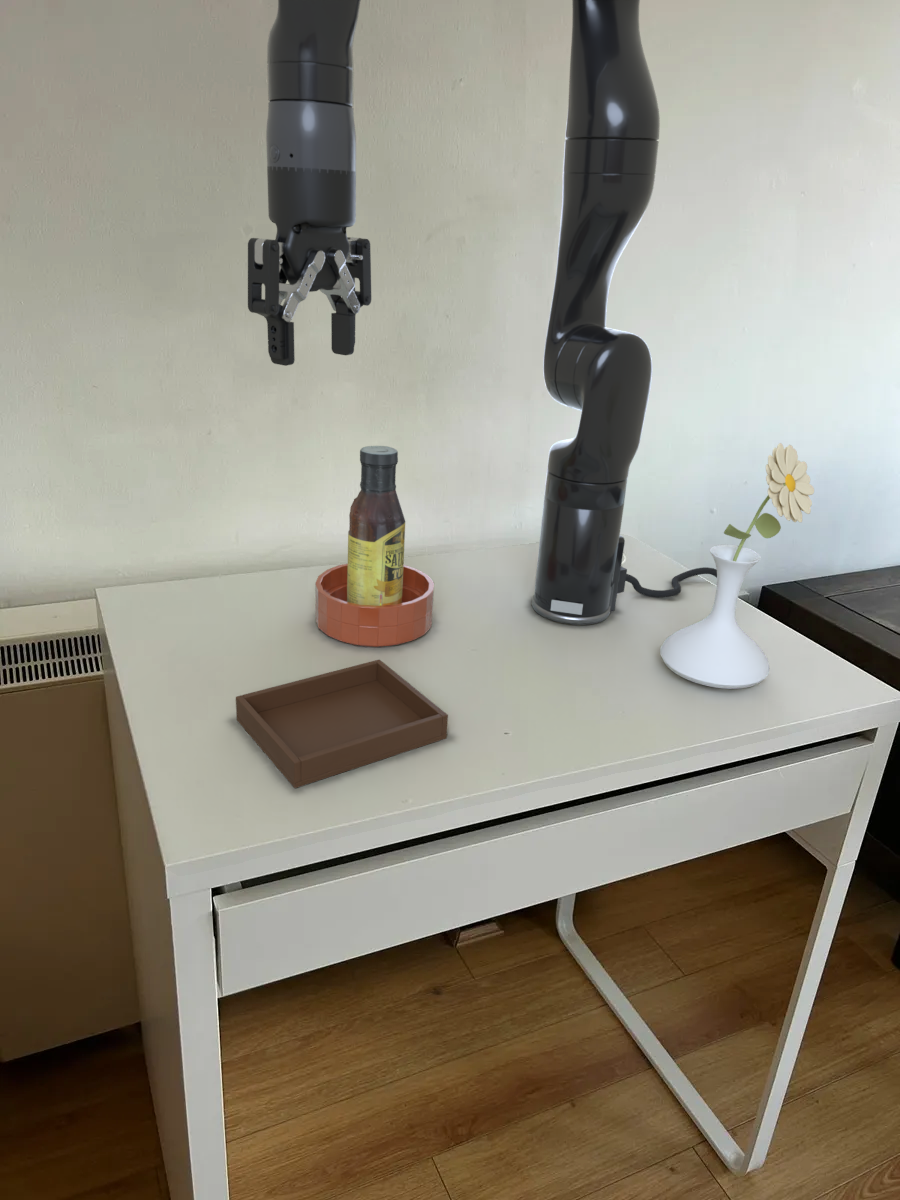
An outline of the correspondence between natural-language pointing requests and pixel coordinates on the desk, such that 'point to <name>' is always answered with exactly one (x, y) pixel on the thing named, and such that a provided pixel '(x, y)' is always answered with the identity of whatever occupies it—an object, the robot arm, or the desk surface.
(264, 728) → the tray
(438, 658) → the desk surface
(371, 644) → the bowl
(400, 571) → the sauce bottle
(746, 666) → the flower in vase
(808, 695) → the desk surface
